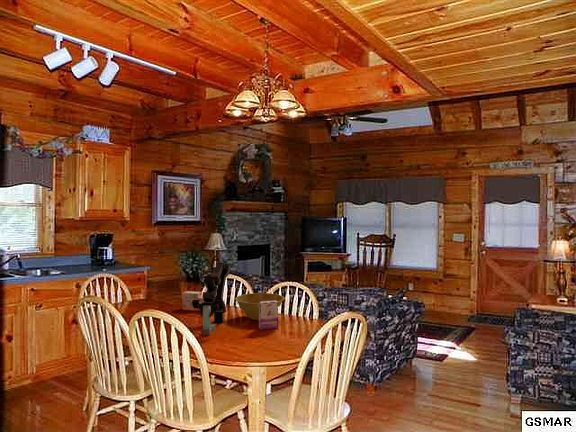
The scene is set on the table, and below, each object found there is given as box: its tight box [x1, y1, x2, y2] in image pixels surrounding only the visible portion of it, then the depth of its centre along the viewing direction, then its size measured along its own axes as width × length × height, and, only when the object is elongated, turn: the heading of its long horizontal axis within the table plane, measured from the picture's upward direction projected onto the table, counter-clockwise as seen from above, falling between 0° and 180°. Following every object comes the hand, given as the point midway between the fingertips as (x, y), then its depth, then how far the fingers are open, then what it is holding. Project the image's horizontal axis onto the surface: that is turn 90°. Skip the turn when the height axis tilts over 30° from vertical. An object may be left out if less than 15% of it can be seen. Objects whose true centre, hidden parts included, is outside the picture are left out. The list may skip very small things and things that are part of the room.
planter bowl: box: [234, 292, 285, 321], centre depth 301 cm, size 32×32×13 cm
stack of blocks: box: [181, 290, 211, 312], centre depth 324 cm, size 21×6×12 cm, turn 73°
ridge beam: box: [200, 323, 218, 337], centre depth 268 cm, size 14×5×3 cm, turn 172°
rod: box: [202, 306, 211, 330], centre depth 263 cm, size 4×4×13 cm
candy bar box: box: [258, 300, 279, 331], centre depth 276 cm, size 11×5×16 cm, turn 105°
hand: (205, 316), depth 261 cm, fingers open, 5 cm apart
